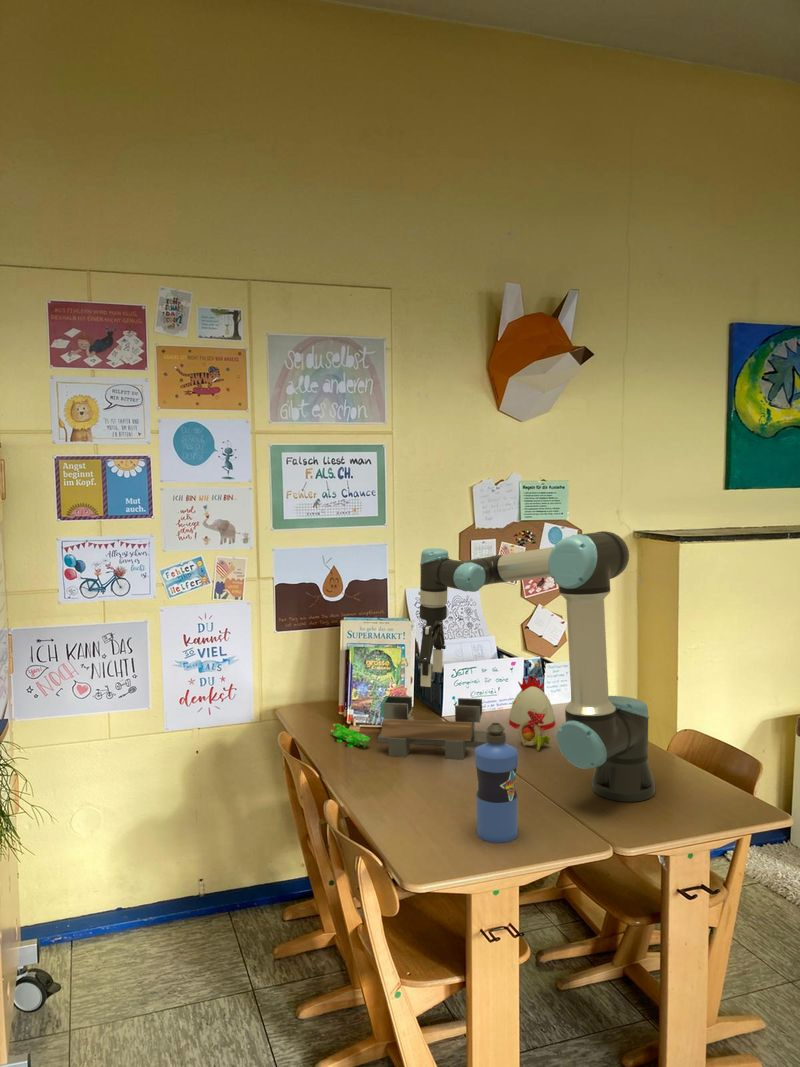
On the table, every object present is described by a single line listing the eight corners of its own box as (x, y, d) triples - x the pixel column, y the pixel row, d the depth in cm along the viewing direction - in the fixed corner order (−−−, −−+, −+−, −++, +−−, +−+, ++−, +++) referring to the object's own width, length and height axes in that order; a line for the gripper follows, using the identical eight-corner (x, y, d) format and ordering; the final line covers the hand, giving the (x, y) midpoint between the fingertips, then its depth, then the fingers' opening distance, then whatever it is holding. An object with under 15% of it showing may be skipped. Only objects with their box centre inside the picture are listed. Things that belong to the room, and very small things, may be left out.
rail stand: (486, 747, 238) (486, 707, 237) (377, 742, 244) (376, 704, 243) (489, 736, 247) (488, 698, 246) (383, 732, 253) (383, 695, 252)
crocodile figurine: (359, 753, 236) (358, 738, 236) (324, 737, 250) (323, 723, 250) (377, 747, 240) (377, 733, 240) (342, 732, 255) (341, 718, 254)
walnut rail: (470, 741, 229) (470, 726, 229) (381, 737, 234) (381, 723, 234) (472, 736, 233) (472, 722, 233) (384, 732, 238) (384, 718, 237)
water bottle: (468, 836, 183) (466, 726, 181) (488, 820, 191) (486, 714, 189) (506, 847, 178) (505, 733, 176) (525, 830, 186) (524, 721, 184)
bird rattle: (520, 756, 236) (546, 749, 231) (506, 718, 238) (532, 711, 233) (531, 750, 241) (557, 743, 236) (517, 713, 243) (542, 705, 238)
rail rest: (463, 759, 229) (463, 742, 229) (388, 756, 233) (388, 738, 233) (465, 751, 235) (465, 734, 234) (392, 748, 239) (392, 731, 238)
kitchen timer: (503, 718, 264) (503, 672, 262) (545, 715, 266) (544, 669, 265) (517, 732, 250) (517, 684, 248) (561, 729, 252) (561, 680, 251)
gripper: (431, 594, 243) (429, 664, 246) (408, 613, 219) (406, 691, 222) (456, 596, 241) (454, 667, 244) (436, 615, 217) (434, 694, 220)
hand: (431, 678), depth 233 cm, fingers open, 13 cm apart
